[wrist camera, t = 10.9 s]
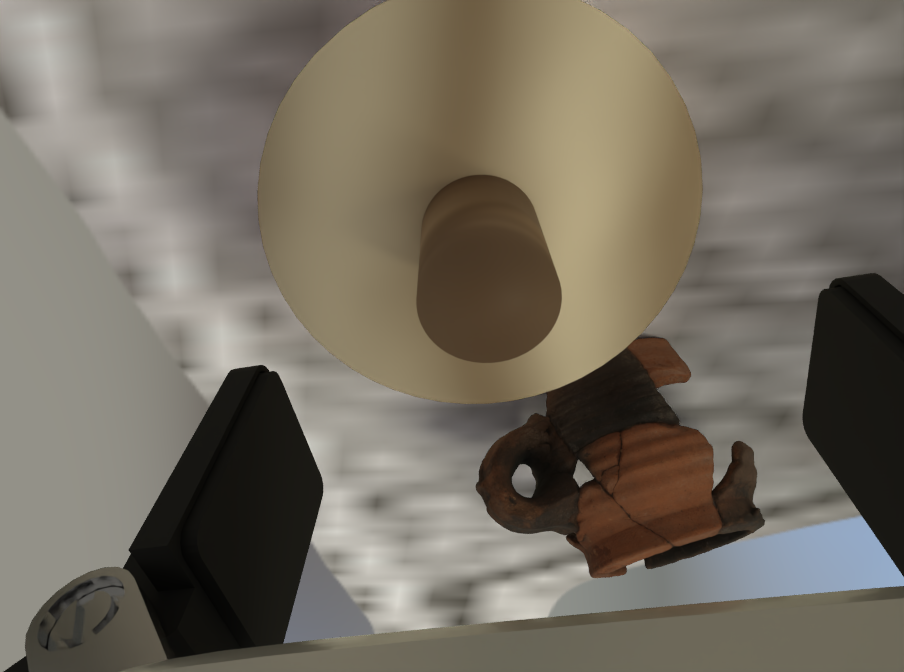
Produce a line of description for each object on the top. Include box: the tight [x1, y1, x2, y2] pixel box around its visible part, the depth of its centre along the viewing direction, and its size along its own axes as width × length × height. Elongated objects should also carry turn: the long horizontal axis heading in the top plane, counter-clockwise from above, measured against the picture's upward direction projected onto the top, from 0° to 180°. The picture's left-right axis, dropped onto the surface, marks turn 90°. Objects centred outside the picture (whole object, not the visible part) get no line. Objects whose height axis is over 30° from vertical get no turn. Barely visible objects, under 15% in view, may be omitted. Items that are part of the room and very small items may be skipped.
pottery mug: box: [476, 338, 765, 578], centre depth 27 cm, size 12×10×8 cm
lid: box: [257, 0, 703, 404], centre depth 16 cm, size 12×12×5 cm
